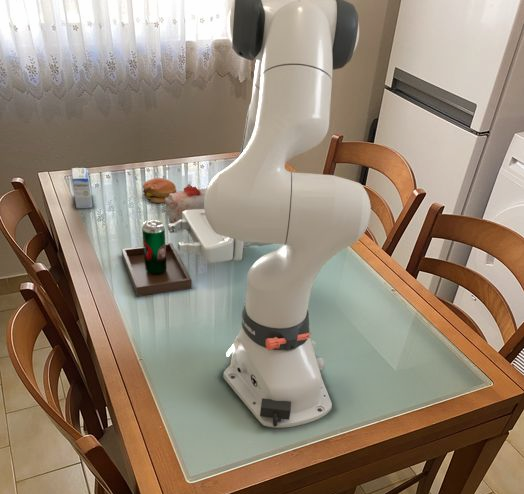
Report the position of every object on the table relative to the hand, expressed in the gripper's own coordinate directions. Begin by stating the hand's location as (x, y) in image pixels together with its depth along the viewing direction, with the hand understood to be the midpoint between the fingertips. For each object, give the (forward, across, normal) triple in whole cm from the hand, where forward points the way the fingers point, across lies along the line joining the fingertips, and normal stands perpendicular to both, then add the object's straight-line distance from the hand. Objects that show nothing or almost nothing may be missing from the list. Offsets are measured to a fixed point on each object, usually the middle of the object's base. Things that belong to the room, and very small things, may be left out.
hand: (173, 237), depth 123 cm
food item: (-11, -24, +9) cm, 28 cm away
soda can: (+4, 0, +8) cm, 9 cm away
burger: (-6, -41, +9) cm, 42 cm away
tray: (+5, 0, +9) cm, 10 cm away
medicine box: (+15, -42, +9) cm, 46 cm away
